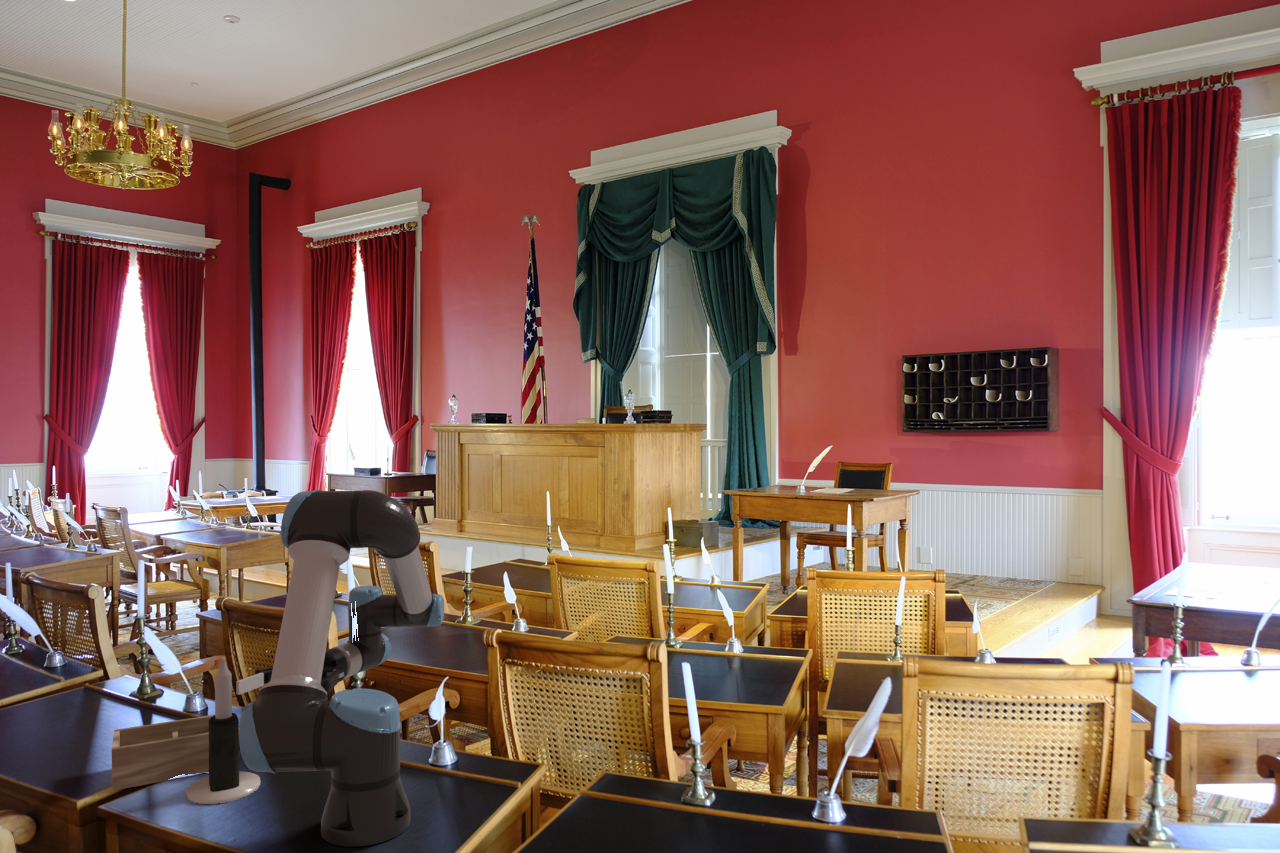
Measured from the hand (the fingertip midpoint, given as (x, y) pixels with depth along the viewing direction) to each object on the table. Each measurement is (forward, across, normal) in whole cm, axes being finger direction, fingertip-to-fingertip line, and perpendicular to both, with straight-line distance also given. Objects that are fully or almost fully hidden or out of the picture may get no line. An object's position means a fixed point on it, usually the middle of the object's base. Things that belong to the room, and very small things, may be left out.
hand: (262, 692), depth 177 cm
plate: (+10, 0, -16) cm, 19 cm away
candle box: (+6, +18, -16) cm, 25 cm away
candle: (+10, 0, -16) cm, 18 cm away
